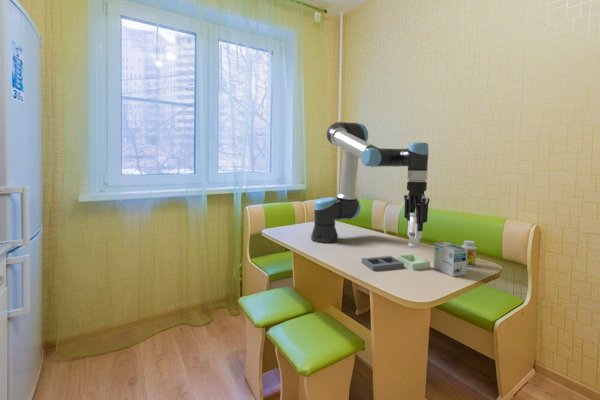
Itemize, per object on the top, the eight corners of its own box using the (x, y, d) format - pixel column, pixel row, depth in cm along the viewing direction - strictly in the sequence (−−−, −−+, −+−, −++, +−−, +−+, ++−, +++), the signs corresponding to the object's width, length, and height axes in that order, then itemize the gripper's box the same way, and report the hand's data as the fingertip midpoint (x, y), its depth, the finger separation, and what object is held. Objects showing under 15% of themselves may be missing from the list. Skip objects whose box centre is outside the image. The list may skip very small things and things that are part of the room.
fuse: (406, 245, 125) (407, 212, 124) (415, 244, 126) (416, 212, 125) (412, 248, 121) (414, 214, 119) (421, 247, 122) (423, 213, 120)
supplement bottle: (457, 264, 126) (459, 241, 125) (463, 261, 130) (464, 238, 129) (472, 267, 122) (474, 243, 121) (477, 264, 126) (478, 241, 124)
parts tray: (396, 262, 129) (397, 255, 129) (412, 260, 131) (413, 254, 131) (412, 270, 119) (412, 263, 118) (429, 269, 121) (429, 262, 120)
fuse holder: (361, 263, 127) (361, 258, 127) (390, 260, 131) (390, 255, 130) (372, 272, 118) (373, 266, 117) (403, 268, 121) (404, 263, 121)
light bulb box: (466, 275, 114) (468, 248, 113) (452, 277, 112) (454, 249, 111) (445, 266, 124) (447, 241, 123) (432, 267, 123) (434, 242, 121)
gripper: (396, 180, 128) (394, 233, 131) (422, 182, 111) (420, 243, 114) (411, 179, 130) (409, 231, 132) (439, 182, 113) (436, 241, 116)
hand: (414, 236), depth 123 cm, fingers closed on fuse, 4 cm apart
